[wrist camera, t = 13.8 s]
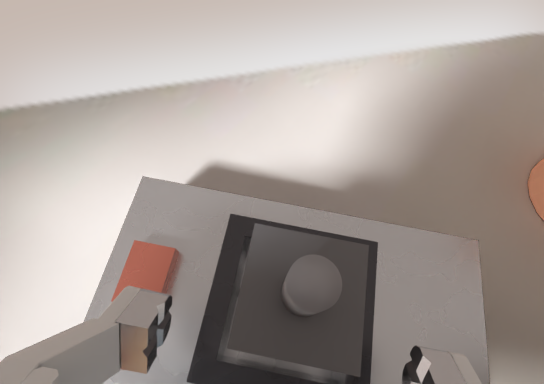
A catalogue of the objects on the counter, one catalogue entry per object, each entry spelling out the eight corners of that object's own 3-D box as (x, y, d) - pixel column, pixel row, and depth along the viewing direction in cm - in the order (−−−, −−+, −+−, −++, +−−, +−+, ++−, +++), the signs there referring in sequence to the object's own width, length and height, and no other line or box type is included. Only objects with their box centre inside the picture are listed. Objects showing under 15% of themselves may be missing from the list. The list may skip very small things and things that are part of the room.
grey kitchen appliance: (101, 375, 17) (45, 390, 12) (163, 203, 21) (137, 169, 16) (443, 451, 16) (513, 496, 12) (438, 257, 20) (488, 235, 16)
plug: (241, 341, 17) (216, 353, 7) (257, 266, 18) (253, 195, 9) (316, 357, 17) (391, 390, 7) (325, 280, 18) (396, 223, 9)
